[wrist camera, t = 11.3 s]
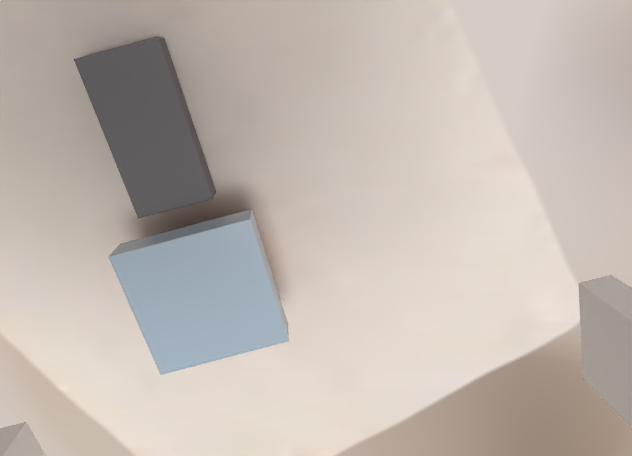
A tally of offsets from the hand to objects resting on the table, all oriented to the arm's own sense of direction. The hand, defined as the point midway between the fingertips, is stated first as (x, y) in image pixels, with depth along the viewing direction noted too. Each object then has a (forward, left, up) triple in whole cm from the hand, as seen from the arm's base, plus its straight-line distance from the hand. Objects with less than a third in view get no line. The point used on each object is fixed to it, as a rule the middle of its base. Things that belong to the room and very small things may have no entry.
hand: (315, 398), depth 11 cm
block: (-5, -9, -28) cm, 30 cm away
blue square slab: (+7, -8, -24) cm, 26 cm away
